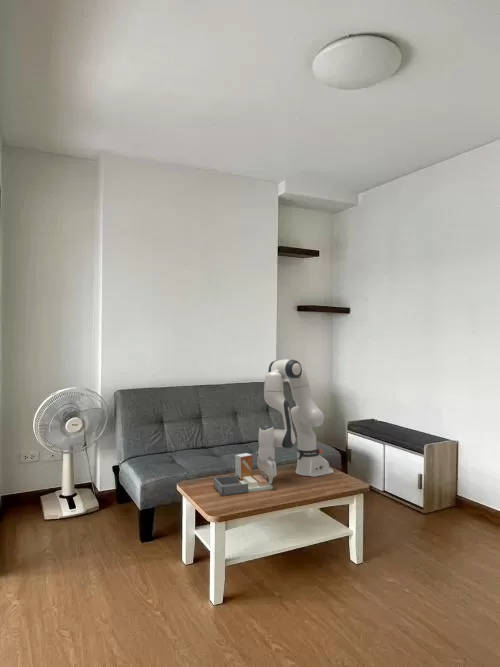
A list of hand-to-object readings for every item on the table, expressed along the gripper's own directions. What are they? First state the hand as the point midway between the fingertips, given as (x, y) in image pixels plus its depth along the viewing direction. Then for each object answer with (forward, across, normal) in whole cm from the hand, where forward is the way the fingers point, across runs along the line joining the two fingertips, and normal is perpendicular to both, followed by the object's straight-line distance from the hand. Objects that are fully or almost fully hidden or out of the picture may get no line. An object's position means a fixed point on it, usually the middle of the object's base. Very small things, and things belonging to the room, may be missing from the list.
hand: (267, 480), depth 256 cm
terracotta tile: (+1, 0, +4) cm, 4 cm away
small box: (+3, +19, +7) cm, 21 cm away
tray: (+2, 0, +21) cm, 21 cm away
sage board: (+2, 0, +7) cm, 7 cm away
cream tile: (+1, 0, +10) cm, 10 cm away
